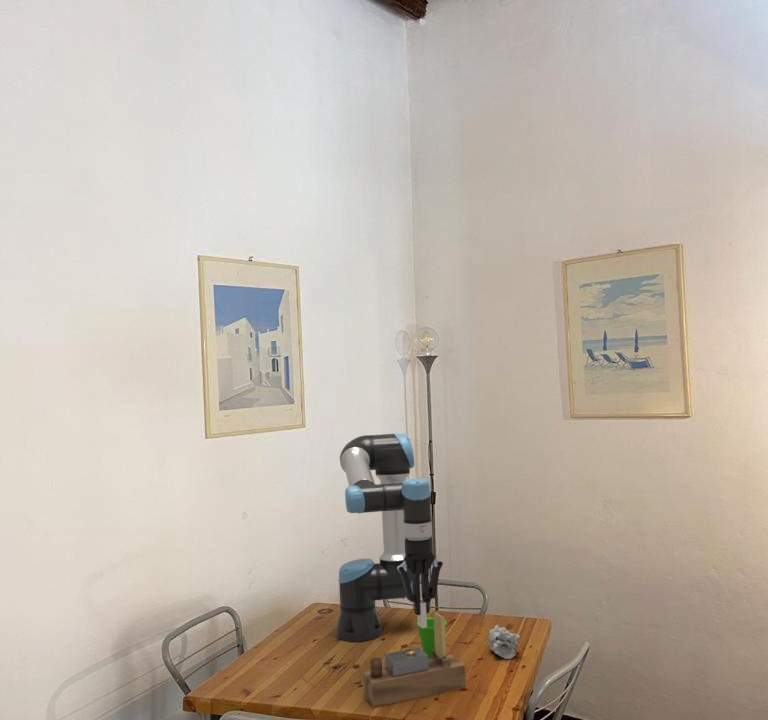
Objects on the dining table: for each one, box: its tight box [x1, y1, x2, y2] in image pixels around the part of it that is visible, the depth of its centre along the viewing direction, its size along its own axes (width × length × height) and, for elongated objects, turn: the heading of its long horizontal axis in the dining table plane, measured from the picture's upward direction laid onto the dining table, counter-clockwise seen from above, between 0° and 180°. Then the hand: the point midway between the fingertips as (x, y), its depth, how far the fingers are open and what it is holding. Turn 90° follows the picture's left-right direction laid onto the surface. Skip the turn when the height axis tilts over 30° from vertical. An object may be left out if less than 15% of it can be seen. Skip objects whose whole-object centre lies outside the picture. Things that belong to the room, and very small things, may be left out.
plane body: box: [362, 650, 466, 708], centre depth 190 cm, size 8×26×10 cm, turn 110°
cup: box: [416, 616, 448, 659], centre depth 210 cm, size 9×9×11 cm
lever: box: [433, 611, 447, 663], centre depth 193 cm, size 6×1×12 cm, turn 20°
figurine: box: [487, 624, 521, 660], centre depth 213 cm, size 8×10×12 cm
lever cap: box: [384, 647, 429, 677], centre depth 189 cm, size 6×10×5 cm, turn 110°
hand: (422, 626), depth 191 cm, fingers closed
